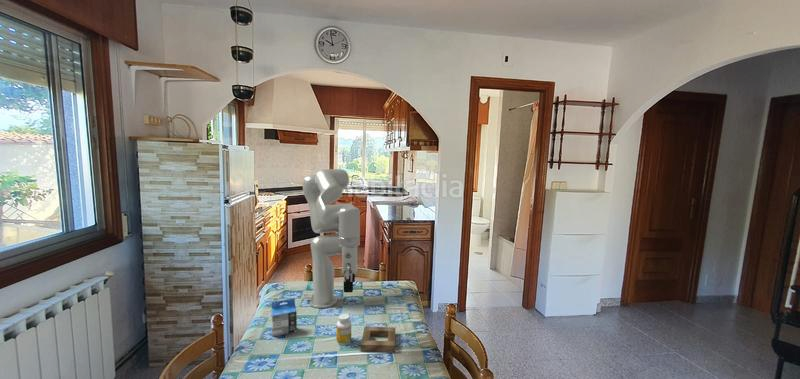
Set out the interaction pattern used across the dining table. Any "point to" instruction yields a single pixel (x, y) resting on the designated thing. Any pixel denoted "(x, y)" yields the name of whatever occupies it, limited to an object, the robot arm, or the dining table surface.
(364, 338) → the frame
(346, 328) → the supplement bottle
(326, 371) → the dining table surface
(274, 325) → the label tape box
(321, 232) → the robot arm
